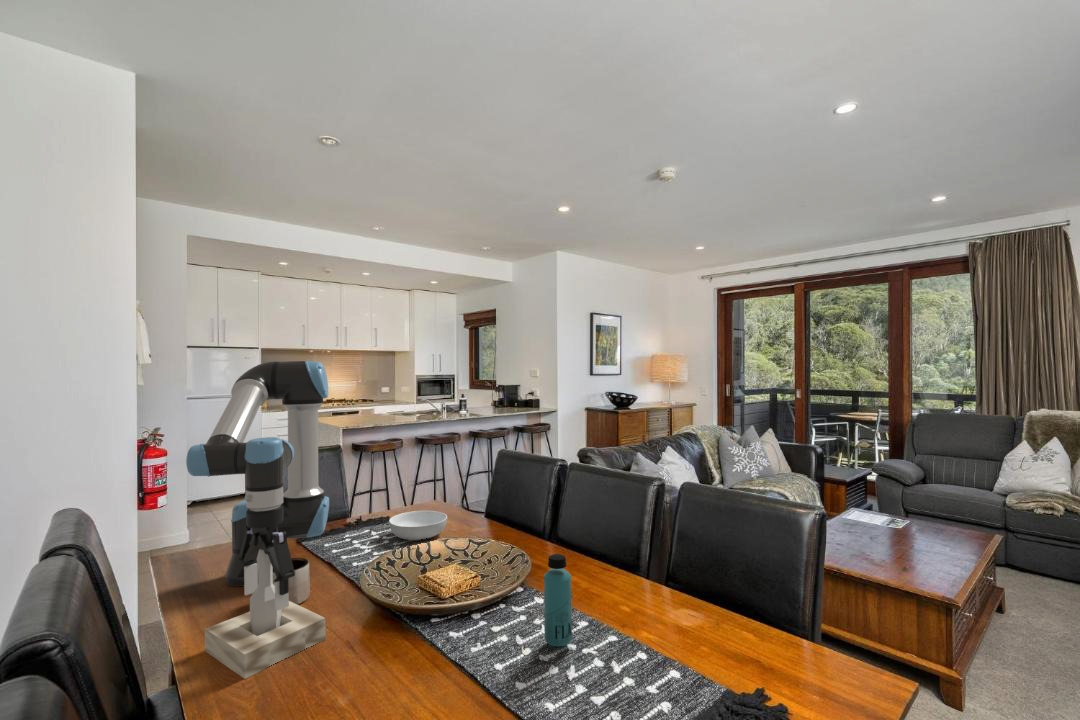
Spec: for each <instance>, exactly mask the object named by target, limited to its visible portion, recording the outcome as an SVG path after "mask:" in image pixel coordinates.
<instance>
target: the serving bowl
mask: <svg viewBox="0 0 1080 720" xmlns="http://www.w3.org/2000/svg"><path fill="white" fill-rule="evenodd" d="M447 521H448V515H447V514H446V513H444V512H441V511H436V510H435V511H434V510H414V511H406V512H402V513H399V514H396V515H394V516H391V517H390V518H389V520H388V524H389V525H388V526H389V528H390V531H391V532H392V533H393V534H394V535H395V536H396V537H398V538H400V539H403V540H408V541H422V540H421V539H423V540H427V539H430V538H432V537H436V536H437V535H439V534H441V532H442V531H444V529H445V527H446V526H447ZM426 538H427V539H426Z"/></svg>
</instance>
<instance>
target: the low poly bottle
mask: <svg viewBox="0 0 1080 720" xmlns="http://www.w3.org/2000/svg"><path fill="white" fill-rule="evenodd" d="M257 566H258V587H257V589H256V590H255V592H254V593H252V594H251V596H250V598H249V612H250V621H251V627H252V634H254V635H256V636H259V635H261V634H264V633H266V632H268V631H271V630H273V629H275V628H278V627H280V619H281V609H280V610H278V611H276V610H275V586H274V584H273V567H272V564H271V562H270V559H269V557H268V554H265V553H264V550H263V549H262V548H260V549H259V552H258V556H257Z"/></svg>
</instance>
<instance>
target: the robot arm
mask: <svg viewBox="0 0 1080 720" xmlns="http://www.w3.org/2000/svg"><path fill="white" fill-rule="evenodd" d="M230 393H231V397H230V399H229V401H228V403H227V405H226V407H225V408H224V411H223V412H222V414H221V416H220V418H219V419H218V422H217V424H216V426H215V427H214V429H213V431H212V432H211V435H210V437H209V438H208V439H207V442H206V443H200V444H194V445H192V446H191V447H190V448H189V449H188V451H187V455H186V460H185V463H186V468H187V469H186V470H187V472H188V473H189V475H190V476H192V477H215V476H227V475H228V476H230V475H245V492H246V493H245V496H244V500H242V501H239V502H237V503H236V504H235V505H234V506H233V508H232V511H231V519H230V520H231V544H232V545H231V546H232V549H231V550H232V551H231V557H230V560H229V562H228V566H227V569H226V572H225V583H226V584H227V585H229V586H231V587H232V586H233V587H243V588H244V596H249V595H252V594H253V593H254V592H255V590H256V589H257V587H258V566H257V556H258V552H259V549H260V548H262V549H263V550H264V553H265V554H268V557H269V559H270V562H271V564H272V567H273V570H274V572H275V575H276V579H275V580H274V582H275V610H276V611H278V610H280V609H283V608H285V607H288V606H289V584H288V580H289V578H290V577H293V576H295V571H294V567H293V563H292V559H291V558H292V557H291V552H290V548H289V544H288V540H290V539H300V538H306V539H308V538H310V537H318V536H321V535H322V534H323V533H324V532H325V529H326V527H327V522H328V518H329V517H328V516H329V511H330V509H329V508H330V497H329V496H325V490H324V489H323V488H321V487H320V486H319V485H320V484H319V409H320V408H321V407H322V406H323V405H324V399H327V398H329V394H330V393H329V382H328V376H327V372H326V368H325V366H324V364H323V363H322V362H320V361H314V360H313V361H312V360H311V361H310V360H298V361H297V360H296V361H295V360H293V361H274V360H273V361H268V362H267V361H266V362H262V363H260V364H257V365H255V366H253V367H251V368H250V369H248V370H246V371H245V372H244V373H243V374H241V375H240V376H239V377H238V379H236V381H235V382H234V384H233V386H232V388H231V392H230ZM267 400H268V401H269V400H281V405H282V407H283V408H285V409H286V410H287V440H286V439H283V438H280V437H276V436H275V437H274V436H269V437H267V436H266V437H258V438H257V437H256V438H253V439H249V440H248V441H246V442H244V441H245V439H246V436H247V435H248V433H249V431H250V428H251V427H252V424H253V421H254V420H255V417H256V415H257V413H258V411H259V410H260V406H262V405H264V404H265V403H266V402H267ZM285 469H287V482H288V483H287V490H286V491H285V492H284V470H285Z"/></svg>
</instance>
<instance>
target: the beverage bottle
mask: <svg viewBox="0 0 1080 720" xmlns="http://www.w3.org/2000/svg"><path fill="white" fill-rule="evenodd" d="M547 566H548V568H550V569H548V571H547V572H545V574H544V575H543V591H544V592H543V595H544V599H543V601H544V603H543V604H544V607H543V611H544V613H543V616H544V621H543V622H544V623H543V626H544V627H543V628H544V629H543V633H544V640H545V642H546V643H547V644H548V645H550V646H554V647H564V646H566V645H569V644H570V643H571V642H572V639H573V635H574V634H573V630H574V628H573V625H574V624H573V609H572V607H573V604H572V603H573V592H572V591H573V590H572V575H571V573H570V572H569V571H568V570H567V569H565V568H567V557H566V556H565V555H564V554H561V553H554V554H551V555H549V556H548V562H547Z"/></svg>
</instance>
